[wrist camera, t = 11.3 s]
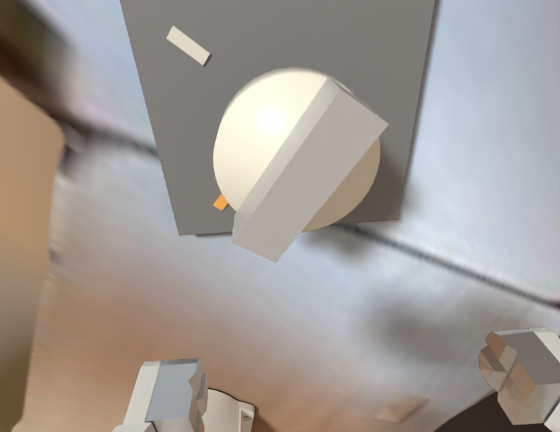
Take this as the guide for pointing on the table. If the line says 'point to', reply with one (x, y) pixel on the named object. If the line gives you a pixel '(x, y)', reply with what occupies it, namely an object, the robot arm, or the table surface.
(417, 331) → the table surface
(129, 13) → the lock base
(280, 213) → the cap
